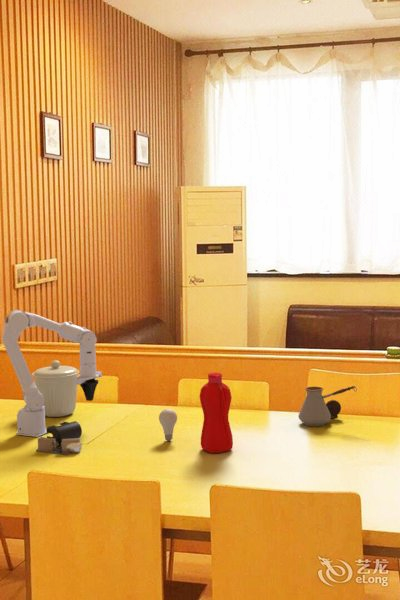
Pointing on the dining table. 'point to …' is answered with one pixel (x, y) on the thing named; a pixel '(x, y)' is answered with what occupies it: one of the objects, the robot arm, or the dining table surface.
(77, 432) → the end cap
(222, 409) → the water bottle
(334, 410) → the compass
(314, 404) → the coffee pot
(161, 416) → the lightbulb
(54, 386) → the canister
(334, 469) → the dining table surface
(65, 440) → the shaft rig
